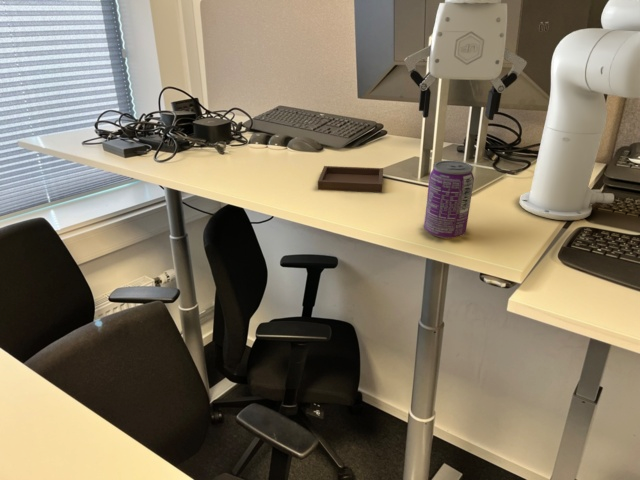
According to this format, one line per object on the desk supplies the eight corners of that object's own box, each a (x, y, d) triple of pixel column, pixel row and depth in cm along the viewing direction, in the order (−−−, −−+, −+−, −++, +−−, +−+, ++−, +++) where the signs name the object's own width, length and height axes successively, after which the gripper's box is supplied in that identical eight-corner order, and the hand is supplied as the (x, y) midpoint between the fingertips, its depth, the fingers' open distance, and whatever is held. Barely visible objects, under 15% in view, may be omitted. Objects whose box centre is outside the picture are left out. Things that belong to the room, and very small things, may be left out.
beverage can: (461, 224, 84) (471, 159, 79) (468, 242, 78) (479, 174, 72) (421, 222, 85) (428, 158, 79) (425, 240, 78) (433, 172, 73)
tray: (382, 176, 107) (383, 168, 106) (381, 192, 98) (382, 183, 97) (324, 173, 109) (324, 165, 108) (317, 189, 100) (317, 181, 99)
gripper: (410, -9, 62) (400, 120, 70) (547, -9, 60) (520, 124, 68) (409, -8, 69) (399, 110, 76) (532, -8, 66) (509, 113, 74)
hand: (456, 116), depth 72 cm, fingers open, 9 cm apart
